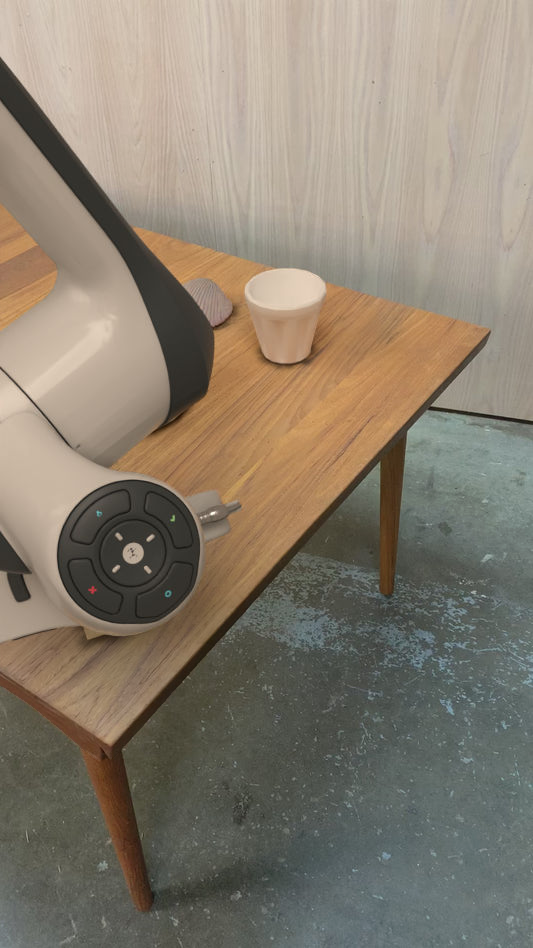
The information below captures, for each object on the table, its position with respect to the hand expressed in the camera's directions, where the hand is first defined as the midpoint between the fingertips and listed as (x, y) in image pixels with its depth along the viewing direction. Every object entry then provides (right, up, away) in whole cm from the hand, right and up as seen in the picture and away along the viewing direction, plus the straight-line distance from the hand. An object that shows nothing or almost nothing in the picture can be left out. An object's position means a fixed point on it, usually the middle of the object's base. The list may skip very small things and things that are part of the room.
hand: (92, 553), depth 65 cm
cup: (+17, +22, +35) cm, 45 cm away
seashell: (+5, +29, +43) cm, 52 cm away
